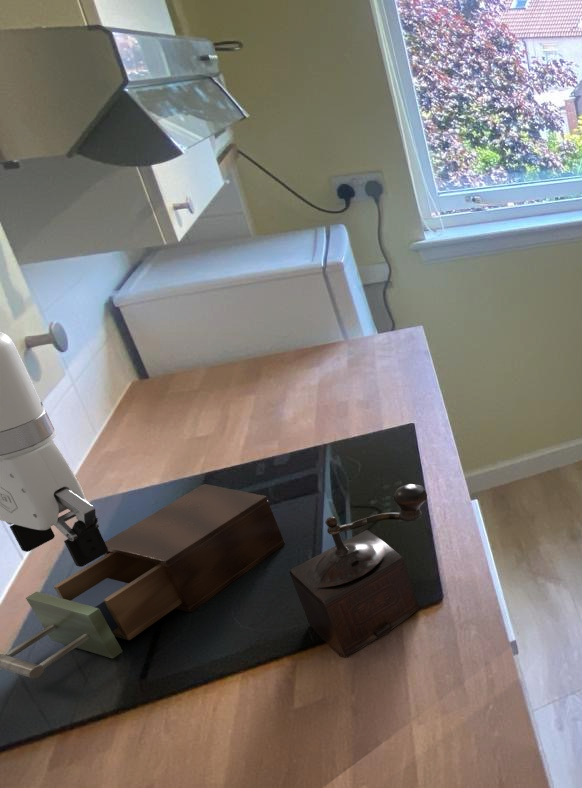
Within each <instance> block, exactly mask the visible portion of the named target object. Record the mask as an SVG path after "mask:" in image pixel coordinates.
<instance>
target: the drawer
mask: <svg viewBox="0 0 582 788" xmlns="http://www.w3.org/2000/svg"><path fill="white" fill-rule="evenodd" d="M106 578H109V579H113V580H117V581H121V582H125V583H129V584H127V585H126V586H124V587H123V588H121V589H120V590H118V591H116V592H115V593H113V594H112V595H110V596H109V597H107V598H106V599H104V602H105V604H106V606H107V607H108V609H109V611H110V613H111V615H112V616H113V618H114V620H115V622H116V624H117V626H118V628H116V629H115V630H113V631H111V629H110V627H109V626H108V624H107V622H106V620H105V619H104V617H103V615H102V613H101V611H100V610H99V608H95V607H91V606H88V605H84V604H80V603H77V602H73V601H71V600H72V599H74V598H76V597H77V596H79V595H80V594H82V593H84V592H85V591H87V590H89V589H90V588H92V587H93V586H95V585H97V584H98V583H100V582H101V581H103V580H105V579H106ZM53 589H54V590H55V593H57V596H54V595H51V594H47V593H44V592H40V591H35V592H33V593H31V594H30V595H27V596H26V597H25V599H26V601H27V603H28V604H29V607H30V608H31V610H32V611H33V613H34V614H35V616H36V618H37V619H38V621H39V623H40V624H41V626H42V628H43V629H42V630H41V631H39V632H37V633H36V634H34V635H32V636H31V637H30V638H28V639H26V640H25V641H23V642H21V643H20V644H18V645H17V646H15V647H13V648H12V649H11V650H9V651H8V652H6V653H5V654H4V653H0V669H1V670H4V671H7V672H11V673H13V674H16V675H20V676H23V677H26V678H29V679H37V678H39V677H41V676H42V675H43V673H44V671H45V669H46V668H48V667H49V666H50V665H52V664H53V663H55V662H56V661H58V660H59V659H60V658H62V657H64V656H65V655H67V654H68V653H70V652H71V651H73V650H74V649H79V650H83V651H86V652H90V653H93V654H96V655H100V656H103V657H107V658H109V659H114V658H116V657H117V656H119V655H120V654H122V653H124V652H123V649H122V647H121V645H120V643H119V642H118V640H117V639H116V638H119V639H122V640H126V641H131V640H132V639H133V638H135V637H137V636H138V635H139V634H141V633H142V632H143V631H145V630H146V629H148V628H149V627H151V626H152V625H154V624H155V623H156V622H158V621H159V620H161V619H162V618H163V617H165V616H166V615H168V614H170V612H172V611H174V609H175V608H176V607H177V606H179V605H180V604H182V601H181V599H180V597H179V595H178V593H177V591H176V589H175V587H174V585H173V583H172V581H171V579H170V577H169V575H168V573H167V571H166V569H165V567H164V565H163V564H159V563H155V562H151V561H146V560H142V559H138V558H134V557H130V556H126V555H122V554H118V553H114V552H110V553H108V554H107V555H105V556H104V555H102V556H101V557H99V558H97V559H96V560H94V561H92V562H91V563H89V564H87V565H86V566H84V567H83V568H81V569H80V570H79V571H76V572H75V573H73V574H72V575H70V576H68V577H67V578H65V579H64V580H61V581H60V582H58V583H56V584H55V585H54V586H53ZM175 610H176V609H175ZM46 636H48V637H49V639H50V641H53V642H55V643H60V644H63V645H65V646H64V647H62V648H61V649H59V650H58V651H56V652H55V653H53V654H52V655H50V656H49V657H47V658H46V659H44V660H43V661H42V662H40V663H39V664H36V663H33V662H29V661H26V660H22V659H20V658H17V657H15V656H16V655H18V654H19V653H21V652H23V651H24V650H25V649H27V648H28V647H30V646H32V645H33V644H35V643H37V642H38V641H40V640H41V639H43V638H45V637H46Z"/></svg>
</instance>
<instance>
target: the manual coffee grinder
mask: <svg viewBox="0 0 582 788" xmlns="http://www.w3.org/2000/svg"><path fill="white" fill-rule="evenodd" d="M427 499H428V494H427V491H426V489H425V488H424V486H423V485H419V484H413V483H408V484H405V485H401V486H399V487H398V488H396V490H395V492H394V495H393V500H394V502H395V503H396V504H397V505H398V506H399V508H400V512H393V511H392V512H382V513H378V514H374V515H371V516H368V517H364V518H361V519H358V520H355V521H351V522H348V523H345V524H341V525H340V524H338V518H337V517H336V516H329V517H327V518H326V520H325V521H324V522H325V524H326V526H327V527H328V528H327V533H328V534H329V535H330V536H331V537H332V539H333V542H334V544H335V546H333V547H331V548H329V549H327V550H325V551H323V552H321V553H319V554H318V555H315V556H313V557H311V558H310V559H308V560H306V561H304V562H302V563H300V564H299V565H296V566H295V567H293V568H291V569H289V575H290V577H291V580H292V582H293V585H294V588H295V590H296V593H297V597H298V599H299V601H300V604H301V606H302V609H303V611H304V614H305V616H306V619H307V622H308V624H309V625H310V627H311V628H312V629H313V631H314V632H315V633H316V634H317V635H318V636H319V637H320V638H321V639H322V640H323V641H324V643H326V644H327V645H328V646H329V647H330V649H332V650H333V651H334V652H335V653H336V654H337V655H338V657H341V658H342V657H343V658H347V657H349V656H351V655H352V654H354V653H356V652H358V651H359V650H361V649H363V648H364V647H366V646H367V645H368V646H369V644H371V643H373V642H375V641H376V640H378V639H380V638H381V637H383V636H384V635H386V634H387V633H390V631H392V630H393V629H394V628H396V627H397V626H399V625H401V624H402V623H403V622H405V621H406V620H407V619H409V618H410V617H412V615H414V614H415V613H416V612H417V611H419V610H420V609H421V606H420V604H419V602H418V600H417V597H416V594H415V592H414V589H413V585H412V582H411V578H410V575H409V572H408V569H407V568H408V567H407V565H406V562H405V559H404V558H403V556H402V555H401V554H400V553H398V552H397V551H396V550H395V549H394V548H393V547H392V546H390V545H389V544H388V543H386V542H385V541H384V540H383V539H381V538H379V537H378V536H377V535H375V534H374V533H373V532H371V531H369V530H368V529H366V530H364V531H362V532H360V533H358V534H356V535H354V536H352V537H350V538H347V539H346V540H344V541H343V538H342V535H341V533H342V532H347V531H352V530H356V529H358V528H362V527H364V526H367V525H370V524H373V523H377V522H380V521H385V520H386V521H387V520H395V521H399V520H400V521H402V522H409V523H410V522H415V521H417V520H420V519H421V518H423V513H422V511H421V507H422V506H423V505H424V503H425V502H426V501H427Z"/></svg>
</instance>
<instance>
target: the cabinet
mask: <svg viewBox="0 0 582 788" xmlns="http://www.w3.org/2000/svg"><path fill="white" fill-rule="evenodd" d="M104 542H105V544H106V546H107V548H108V552H107V553H106V554H104V555H103V556H105V555H107V554H108V553H110V552H114V553H118V554H122V555H126V556H130V557H134V558H138V559H142V560H146V561H151V562H155V563H159V564H163V565H164V567H165V569H166V571H167V573H168V575H169V577H170V579H171V581H172V583H173V585H174V587H175V589H176V591H177V593H178V595H179V597H180V599H181V601H182V604H180V605H179V606H177V607H176V608H175V610H179V611H182V612H186V613H190V614H191V613H193V612H194V611H196V610H197V609H198V608H199V607H201V606H202V605H203V604H205V603H207V602H208V601H210V600H211V599H212V598H213V597H214V596H216V595H217V594H219V593H220V592H222V591H223V590H224V589H226V588H227V587H228V586H230V585H231V584H232V583H234V582H236V581H237V580H238V579H239V578H241V577H242V576H243V575H245V574H246V573H248V572H249V571H250V570H252V569H254V568H255V567H256V566H257V565H259V564H260V563H261V562H263V561H264V560H265V559H267V558H269V557H270V556H271V555H272V554H274V553H275V552H277V551H278V550H280V549H281V548H283V546H285V545H286V542H285V540H284V538H283V535H282V533H281V530H280V528H279V525H278V523H277V520H276V517H275V515H274V512H273V510H272V508H271V505H270V503H269V500H268V498H267V496H266V495H261V494H256V493H251V492H246V491H241V490H237V489H230V488H226V487H221V486H216V485H212V484H206V483H203V484H202V485H200V486H198V487H197V488H194V489H193V490H190V492H188V493H186V494H184V495H182V496H181V497H179V498H177V499H175V500H174V501H172V502H170V503H169V504H167V505H166V506H164V507H162V508H160V509H158V510H157V511H155V512H153V513H152V514H150V515H148V516H146V517H145V518H143V519H141V520H139V521H138V522H136V523H134V524H133V525H131V526H129V527H128V528H126V529H125V530H122V531H121V532H119V533H117V534H116V535H114V536H112V537H110V538H108V539H107V540H104Z"/></svg>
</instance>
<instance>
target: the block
mask: <svg viewBox="0 0 582 788" xmlns="http://www.w3.org/2000/svg"><path fill="white" fill-rule="evenodd" d="M127 584H129V583H125V582H121V581H117V580H113V579H109V578H106V579H105V580H103V581H101V582H100V583H98V584H97V585H95V586H93V587H92V588H90V589H89V590H87V591H85V592H84V593H82V594H80V595H79V596H77V597H76V598H74V599H72V600H71V601H73V602H77V603H80V604H84V605H88V606H91V607H95V608H99V610H100V611H101V613H102V615H103V617H104V619H105V620H106V622H107V624H108V626H109V627H110V629H111V631H113V630H115V629H116V628H118V626H117V624H116V622H115V620H114V618H113V616H112V615H111V613H110V611H109V609H108V607H107V606H106V604H105V602H104V599H106V598H107V597H109V596H110V595H112V594H113V593H115V592H116V591H118V590H120V589H121V588H123V587H124V586H126V585H127Z"/></svg>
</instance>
